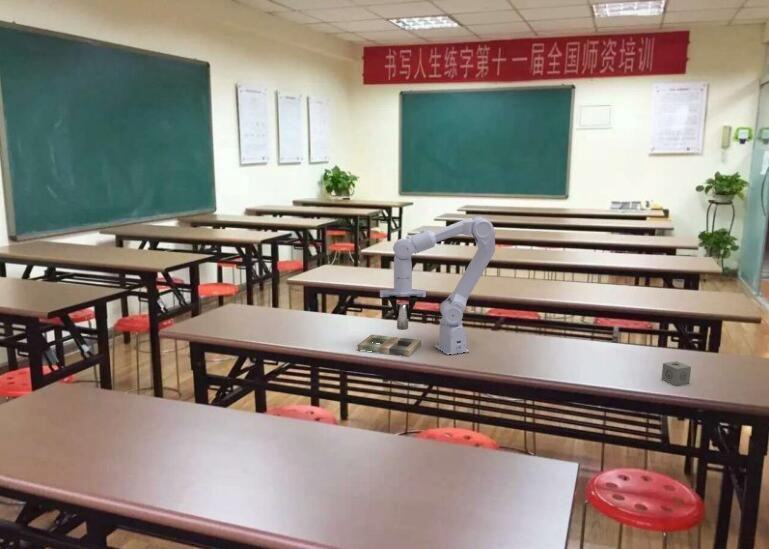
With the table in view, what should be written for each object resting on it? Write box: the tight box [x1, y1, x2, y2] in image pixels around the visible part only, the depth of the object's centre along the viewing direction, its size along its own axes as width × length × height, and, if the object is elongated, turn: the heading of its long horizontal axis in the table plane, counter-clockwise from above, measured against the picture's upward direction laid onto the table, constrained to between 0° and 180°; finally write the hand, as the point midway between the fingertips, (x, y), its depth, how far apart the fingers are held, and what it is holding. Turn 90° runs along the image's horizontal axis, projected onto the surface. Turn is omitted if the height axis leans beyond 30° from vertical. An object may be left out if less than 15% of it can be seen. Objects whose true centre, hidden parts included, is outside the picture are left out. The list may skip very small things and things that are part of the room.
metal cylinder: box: [396, 302, 409, 331], centre depth 200 cm, size 4×4×8 cm
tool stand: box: [357, 334, 422, 358], centre depth 204 cm, size 18×12×2 cm
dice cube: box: [661, 360, 692, 387], centre depth 174 cm, size 5×5×5 cm
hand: (402, 318), depth 200 cm, fingers closed on metal cylinder, 4 cm apart
